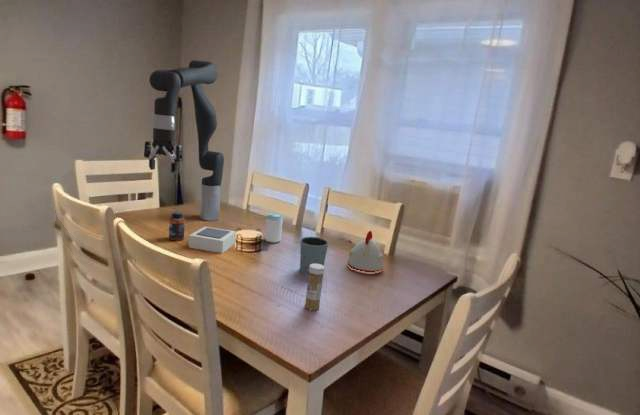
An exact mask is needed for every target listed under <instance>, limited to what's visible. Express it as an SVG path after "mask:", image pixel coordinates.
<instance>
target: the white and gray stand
mask: <svg viewBox="0 0 640 415" xmlns="http://www.w3.org/2000/svg"><path fill="white" fill-rule="evenodd" d="M235 235H236V236H237V231H235V230H234V231H233V230H228V229H222V228H216V227H210V226H203V227H202V228H200V229H198V230H195V232H192V233H191V234H189V235H188V237H189V238H188V248H191V249H196V250H203V251H208V252H212V253H220V254H223V253H225V252H226V251H227V250H228V249H230V248H231V247H233V244H234V245H235V244H236V243H235Z"/></svg>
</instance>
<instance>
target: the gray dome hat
mask: <svg viewBox="0 0 640 415" xmlns="http://www.w3.org/2000/svg"><path fill="white" fill-rule="evenodd" d="M347 263H348V265H349V266H350V267H351V268H353V269H356V270H360V271H365V272H375V271H379V270H381V269H382V270H383V267H384V253H383V252H381V249H380V247H379V245H378V244H377V243H376V242H375V241H374V240H373V232H372V230H371V231H370V230H368V232H367V233H366V237H365V239H362V240H360V241H359V242H357V244H356V245H355V246H353V248H351V249H350V252H349V255H348V259H347Z"/></svg>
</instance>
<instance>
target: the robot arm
mask: <svg viewBox="0 0 640 415" xmlns="http://www.w3.org/2000/svg"><path fill="white" fill-rule="evenodd" d="M217 78H218V68H217V65H215V63H213V62H210V61H205V60H196V59H195V60H191V61H190V62H189V64H188V67H179V68H174V69H158V70H154V71H153V72H152V73H150V75H149V84H150V86H151V87H152V89H154V90H156V91H159V92H165V95H164V97H158V98H155V100H154V109H153V111H154V114H153V121H152V126H153V127H152V139H153V140H152V141H151V140H149V141H148V140H147V141H145V142H144V152H143V157H144V158H147V159H148V167H149V170H154V171H155V169H156V159H155V158H156V157H157V156H159V155H160V156H162V155H163V156H167V157H168V159H169V160H170V161H171V164H170V165H171V166H170V167H171V168H170V173H172V174H175V173H176V172H177V171H178V163H179V162H183V145H181V144H179V145H178V144H176V145H175V135H176V134H175V133H176V132H175V131H176V119H175V117H176V116H175V114H176V112H175V110H176V108H175V107H176V102H177V99H178V96H179V93H180V90H181V89H182V88H185V87H190V88H191V93H192V98H193V106H194V116H195V125H196V131H197V141H198V165H199V167H200V168H201V170H205V171H211V172H212V174H211V175H208V176H205V177H202V178H201V192H200V210H199V219H200V220H203V221H209V222H210V221H212V222H213V221H218V220H219V219H220V210H221V208H220V206H221V196H222V195H221V193H222V192H221V191H222V180H223V174H224V173H223V171H224V165H225V164H224V163H225V157H224V154H223V153H222V152H217V151H211V150H209V142H210V140H211V138H213V135H214V133H215V131H216V129H217V127H218V120H217V111H216V109H215V107H214V106H213V104H212V103H211V101H210V100H209V99H208V97H207V95H206V93H205V92H204V89H203V88H204V87H203V84H204V85H212V84H214V83H215V82H216V81H217ZM152 147H153V149H152ZM174 150H175V151H174Z"/></svg>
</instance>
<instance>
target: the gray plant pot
mask: <svg viewBox="0 0 640 415" xmlns="http://www.w3.org/2000/svg"><path fill="white" fill-rule="evenodd" d="M299 244H300V251H299V252H300V258H299V259H300V261H299V263H300V264H299V272H300V271H301V272H302V273H301V272H300V273H301V274H303V275H305V274H307V275H306V276H308V275H309V266H310V265H311V264H321V265H323V266H324V267H325V263H326V262H325V261H326V256H327V251H328V248H329V247H328V246H329V242H328V240H327V239H325V238H322V237H316V236H304V237H302V238H300V243H299Z"/></svg>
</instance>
